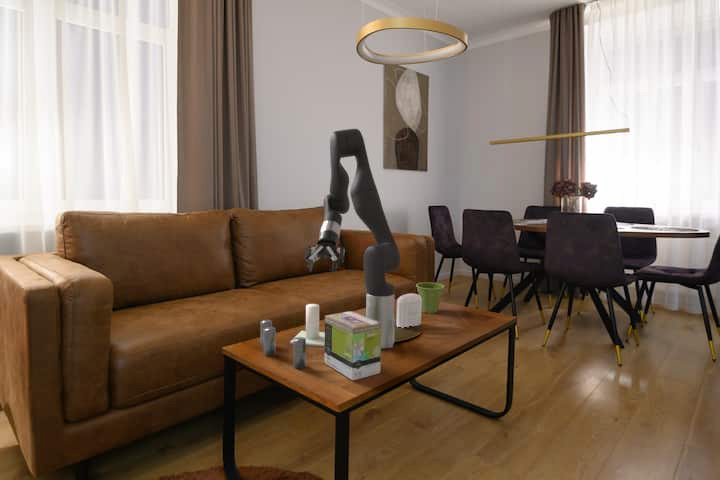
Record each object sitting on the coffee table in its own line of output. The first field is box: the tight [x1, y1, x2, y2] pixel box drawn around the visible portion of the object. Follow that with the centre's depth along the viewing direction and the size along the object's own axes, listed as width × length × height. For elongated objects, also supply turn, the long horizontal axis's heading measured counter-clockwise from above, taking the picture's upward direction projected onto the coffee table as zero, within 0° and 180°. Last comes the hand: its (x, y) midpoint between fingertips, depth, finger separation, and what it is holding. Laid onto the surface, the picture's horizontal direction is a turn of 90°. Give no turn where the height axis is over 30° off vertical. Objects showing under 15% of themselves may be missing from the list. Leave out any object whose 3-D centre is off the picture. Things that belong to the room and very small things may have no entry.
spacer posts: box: [260, 319, 307, 370], centre depth 133 cm, size 28×18×8 cm, turn 79°
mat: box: [289, 330, 325, 347], centre depth 149 cm, size 12×12×1 cm
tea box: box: [324, 310, 382, 381], centre depth 124 cm, size 15×10×15 cm, turn 35°
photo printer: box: [395, 293, 422, 329], centre depth 164 cm, size 10×4×12 cm, turn 123°
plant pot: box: [415, 282, 445, 314], centre depth 184 cm, size 12×12×11 cm
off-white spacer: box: [305, 303, 320, 339], centre depth 148 cm, size 4×4×11 cm
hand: (321, 270), depth 155 cm, fingers open, 8 cm apart
